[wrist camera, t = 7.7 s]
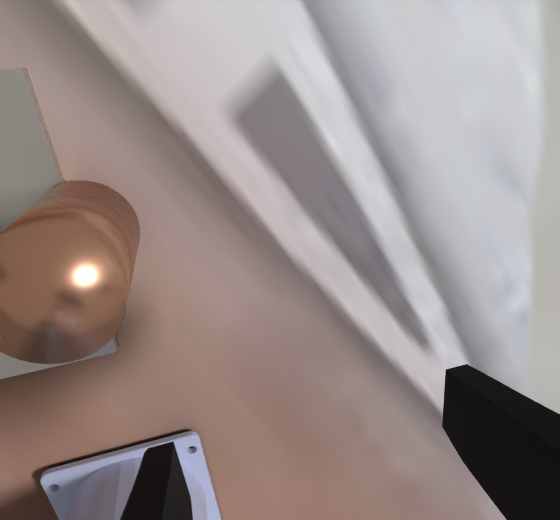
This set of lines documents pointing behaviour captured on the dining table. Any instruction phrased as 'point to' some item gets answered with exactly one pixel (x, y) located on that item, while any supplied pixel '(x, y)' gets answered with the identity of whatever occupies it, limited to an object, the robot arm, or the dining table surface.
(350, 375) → the dining table surface
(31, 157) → the grey plate
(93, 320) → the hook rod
